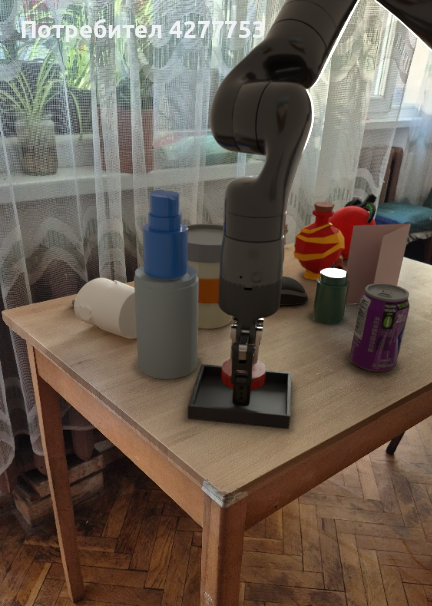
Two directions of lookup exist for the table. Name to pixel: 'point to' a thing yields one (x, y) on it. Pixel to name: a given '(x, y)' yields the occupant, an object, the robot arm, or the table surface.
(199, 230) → the reusable coffee cup
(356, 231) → the greeting card
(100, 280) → the mug
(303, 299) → the computer mouse
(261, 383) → the lid
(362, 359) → the beverage can
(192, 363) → the spray bottle
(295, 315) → the table surface
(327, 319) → the jar
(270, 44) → the robot arm
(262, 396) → the tray
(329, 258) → the potion bottle
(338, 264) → the ammunition
